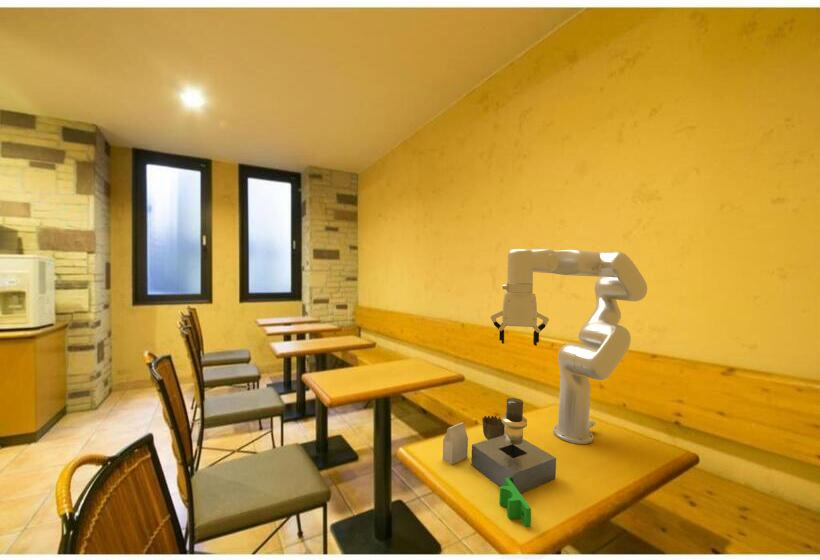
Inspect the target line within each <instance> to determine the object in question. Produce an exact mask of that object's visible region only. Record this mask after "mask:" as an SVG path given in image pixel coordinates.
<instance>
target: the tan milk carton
mask: <svg viewBox="0 0 820 560" xmlns="http://www.w3.org/2000/svg"><path fill="white" fill-rule="evenodd" d="M468 444H469V438H468V433H467V429H466V427H465V422H460V423H457V424H455V425H453V426H450V427H448V428H447V430H446V433H445V435H444V437H443V439H442V460H443V461H444V462H446V463H448V464H449V465H452V466H453V465H455V464H457V463H458V462H461V461H462V460H464V459H467V458H468V453H469V451H468V450H469V449H468V448H469V445H468Z"/></svg>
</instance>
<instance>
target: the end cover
mask: <svg viewBox="0 0 820 560" xmlns="http://www.w3.org/2000/svg"><path fill="white" fill-rule="evenodd" d="M505 406H506V407H505V408H506V411H505V413H503V414H502V415H501V418H500V419H501V422H502V423H503V424H504V425H505V428H504V440H505V441H506V442H507V443H510V444H514V445H519V444H522V443H523V439H524V429H525V428H526V427H527V425H528V419H527V418H526V417H525V416H523V415H524V413H523V412H524V401H523V400H522V399H520V398H516V397H508V398H507V399H506V405H505Z"/></svg>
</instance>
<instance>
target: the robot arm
mask: <svg viewBox="0 0 820 560" xmlns="http://www.w3.org/2000/svg"><path fill="white" fill-rule="evenodd" d="M534 273H542V274H555V275H561V276H573V277H574V276H576V277H577V276H578V277H582V276H583V277H598V279H596V281H595V284H594V293H595V299H596V305H595V308H594V310H593V312H592V314H591V315H590V316H589V317H588V318H587V320H586V322H584V324H583V326H582V327H581V329H580V330H579V331H578V339H579V342H580V343H581V344H580V343H577V342H576V343H575V342H568V343H566V344H564V345H562V346H561V347H560V348H559V350H558V353H557V354H558V356H557V362H558V367H559V379H560V381H559V382H560V383H559V397H558V398H559V399H558V401H559V403H558V423H557V424H556V425H554V426H553V429H552V432H553V434H554V435H555V436H556V437H557V438H559V439H560V440H562V441H566V442H568V443H573V444H577V445H578V444H579V445H587V444H590V443H592V442H593V441H594V434H593V433H592V432H591V431H590V430H591V428H593V427H595V426H596V424H597V423H596V421H595V420H593V419H591V420H590V413H591V412H590V411H591V410H590V409H591V408H590V407H591V392H592V391H591V390H592V389H591V388H592V387H591V385H592V384H591V381H590V379H593V380H596V381H604V380H607V379H608V378H609V377H610V376H611V375H612V374H613V373H614V371H615V369H616V368H617V367H618V366H619V364H620V363H621V361H622V360H623V358H624V356H625V355H626V354H627V352H628V350H629V348H630V346H631V334H630V332H629V330H628V329H627V328H626V327H625V326H623V325H620V324H619V323H620V321H621V317H622V312H621V310H620V307H619V305H618V301H625V302H640V301H642V300H643V299H644V298H645V297H646V296H647V294H648V293H647V292H648V284H647V282H646V280H645V277H644V276H643V275H642V274H641V272H640V271H639V269H638V267H637V266H636V264H635V263H634V262H633V260H632V259H631V258H630V257H629V256H628V255H627V254H626V253H624V252H622V251H589V250H579V249H564V250H563V249H561V250H553V249H551V248H528V249H527V248H514V249H513V248H512V249H510V250H508V253H507V280H506V281H507V284H502V290H506V292H505V293H504V296H503V303H502V310H501V311H499V312H496V313H494V314H491V316H490V319H491V321H492V323H493V326H495V328H496V329H498V331H499V337H498V339H499V341H501V344H502V345H503V344H505V330H504V329H505V328H506V327H507V326H508V327H520V328H521V327H523V328H525V327H526V328H528V327H529V328H533V335H532V336H533V337H532V339H533V341H532V343H533V346H535V347H536V346H537V345H538V344H539V343H540V333H541V331H543V330H544V329H545V328H546V326H548V325H547V324H548V323H549V321H550V319H549V317H548V316H545V315H543V314H542V313H539V312H538V306H537V304H538V303H537V296H536V294H535V293H533V292H534V291H533V290H534V289H533V288H534V287H533V286H534V280H533V279H534ZM500 317H501V319H502V323H499V322H498V320H497V318H500ZM538 319H541V320H542V322H541V323H539V325H537V324H538Z"/></svg>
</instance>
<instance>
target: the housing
mask: <svg viewBox="0 0 820 560" xmlns="http://www.w3.org/2000/svg"><path fill="white" fill-rule="evenodd" d="M470 461H471V463H470V464H471V466H472V467H473V468H474V469H476V470H477V471H478V472H480V473H481V474H482V475H483V476H485V477H486V478H487V479H489V481H491V482H493V483H494V484H495V485H496V486H498V487H499V488H500V487H501V486H504V485H505V478H509V479H510V480H511V482H512V483H513V484H514V486H515V487H516V488H517V490H518V491H519V492H520V494H521V495H522V494H525V493H526V492H529V491H532V490H533V489H536V488H538V487H540V486H543V485H545V484H548V483H550V482H553V481H555V480H556V477H557V476H556V475H557V474H556V472H557V471H556V470H557V457H555V456H554V455H552V454H551V453H549V452H547V451H546V450H544V449H542V448H540V447H538V446H537V445H534V444H533V443H531V442H529V441H528V440H526V439H524V438H523V443H522V444H519V445H514V444H510V443H507V442H506V441H505V440H504V435H503V436H499V437H496V438H493V439H489V440H487V439H486V440H483V441H480V442H476V443H473V444H471V460H470Z"/></svg>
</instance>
